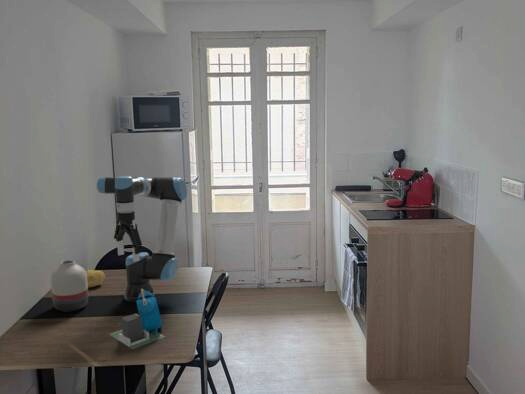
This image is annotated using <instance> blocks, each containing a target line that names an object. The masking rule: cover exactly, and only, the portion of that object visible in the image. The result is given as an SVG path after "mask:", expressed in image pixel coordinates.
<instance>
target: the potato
mask: <svg viewBox="0 0 525 394" xmlns="http://www.w3.org/2000/svg"><path fill="white" fill-rule="evenodd" d="M85 271H86V274H87V283H88V289H89V288H94V287H98V286H99V285H101V284H102V283H104V280H105V277H106V273H104V271H102V270H95V269H89V270H85Z"/></svg>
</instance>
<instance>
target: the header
mask: <svg viewBox="0 0 525 394" xmlns="http://www.w3.org/2000/svg"><path fill="white" fill-rule="evenodd" d="M143 337H144V339H141V340H138V341H135V342H133V343H130V339H129V338H127V337H126V336H124V335H123V334H121V333H120V334H119V341H118V342H120V341H121V342H120V343H122V344H123V343H124V344H123V345H125V344H126V345H127V347H128V346H132V345H135V344H138V343H140V342H143V341H146V340H148V339H149V332H147V331H145V329H144V330H143ZM126 345H125V346H126Z"/></svg>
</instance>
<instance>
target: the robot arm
mask: <svg viewBox="0 0 525 394" xmlns="http://www.w3.org/2000/svg"><path fill="white" fill-rule="evenodd" d="M187 188H188V187H187V184H186V181H185V180H184V179H183V178H181V177H176V176H174V177H171V176H167V177H163V176H162V177H161V176H156V177H155V176H153V177H152V176H151V177H147V178H146V177H145V178H144V177H142V176H135V177H132V176H131V175H121V176H117V177H111V176H110V177H109V176H108V177H107V176H105V177H100V178H98V180H97V181H96V190H97V192H98V193H100V194H105V195H106V194H107V195H109V194H110V195H115V200H116V203H115V204H116V205H115V208H116V211H117V213H116V218H117V219H116V221H115V222H116V225H115V231H114V236H113V239H114V240H116V243H117V245H116V246H117V255H118V256H122V255H123V256H124V255H125V246H124V245H125V244H124V236H125V234H126V235H128V237H129V240H130V243H131V244H132V254H130V255H128V256H127V257H126V258H125V271H126V272H125V274H126V287H125V291H124V300H125V301H126V302H129V303H137V300H138V296H139V294H140V293H141V289H143V290H145V291H149V292H150V293H151V294H152V296H153V297H155V292H154V291H155V290H154V289H153V285H152V283H151V280H153V281H154V280H155V281H162V282H165V281H166V282H167V281H168V282H169V281H172V280H174V278H175V277H176V276H177V273H178V269H179V260H178V258H176V254H175V252H174V244H175V237H176V236H175V235H176V229H177V220H178V219H177V218H178V211H179V207H180V206H181V205H182V204H183V201H185V200H186V198H187V196H188V189H187ZM136 195H137V196H139V197H144V198H150V199H157V200H159V203H160V204H161V207H160V208H161V209H160V215H159V216H160V218H159V225H158V233H157V237H156V239H157V240H156V247H155V248H156V249H155V250H154V251H152V255H151V256H150V254H149V253H148V252H146V251H145V252H143V251H142V252H140V247H141V246H143V244H142V239H141V236H140V233H139V230H138V224H137V223H133V221H134V220H135V218H136V215H135V211H134V210H135V201H134V199H135V197H134V196H136Z"/></svg>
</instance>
